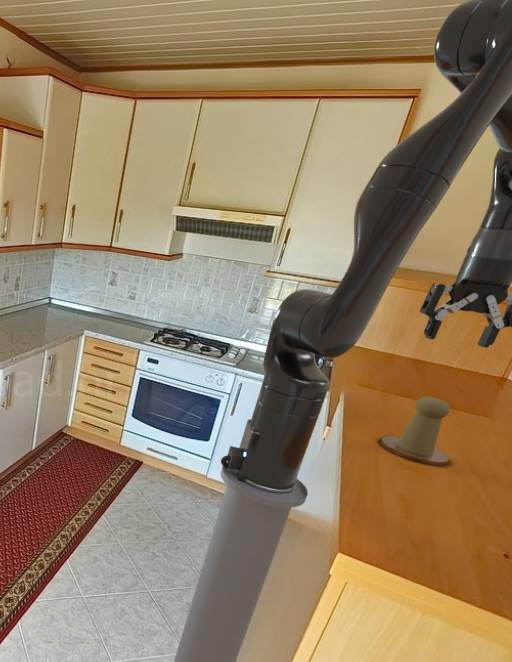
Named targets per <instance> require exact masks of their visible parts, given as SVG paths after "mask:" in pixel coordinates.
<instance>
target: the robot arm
mask: <svg viewBox="0 0 512 662" xmlns="http://www.w3.org/2000/svg"><path fill="white" fill-rule="evenodd" d="M433 59H434V63H435V66H436V68H437V70H438V72H439V74H441V75H442V77H443V78H444V79H445V80H446V81H448V83H450V84H451V85H452V86H453V87H454V89H456V90H457V91H458V92H459V95H458V96H457V97H456V98H455V99H454V100H453V101H452V102H451V103H450V104H449V105H448V106H447V107H444V109H443V110H441V111H440V112H439V113H438V114H436V115H434V117H433V118H431V119H429V120H428V121H427V122H426V123H424V124H423V125H421V126H420V127H419V128H417V129H416V130H415V131H413V132H412V133H410V134H409V135H408V136H407V137H405V138H404V139H403V140H402V141H400V142H399V143H398V144H397V145H395V146H394V147H393V148H392V149H391V150H390V151H389V152H387V153H386V154H385V156H384V157H383V158H382V159H381V161H380V162H379V163H378V165H377V166H376V168H375V171H374V172H373V174H372V175H371V177H370V179H368V182H367V183H366V185H365V187H364V188H363V190H362V192H361V194H360V195H359V198H358V200H357V202H356V205H355V209H354V214H353V215H354V216H353V252H352V257H351V260H350V263H349V265H348V268H347V270H346V271H345V273H344V275H343V277H342V278H341V281H340V282H339V284H338V285H337V287H336V288H335V290H334V291H333V292H332V293H329V292H325V291H321V290H320V291H319V290H316V289H309V288H304V289H303V288H302V289H298V290H295V291H293V292H292V293H290V294H289V295H287V297H285V298H284V300H283V301H282V302H281V303H280V305H279V306H278V308H277V310H276V312H275V315H274V317H273V320H272V322H271V323H272V324H271V328H270V332H269V335H268V340H267V345H266V348H265V352H264V357H263V366H262V367H263V372H264V375H263V379H262V383H261V387H260V390H259V393H258V396H257V400H256V402H255V406H254V409H253V412H252V416H251V419H248V420H247V421H246V424H245V427H244V431H243V434H242V437H241V441H240V444H239V447H236V446H231V445H230V446H229V449H228V452H227V454H226V455H224V456H223V457H221V459H220V464H221V465H222V466H224V468H225V469H227V468H229V469H233V470H235V473H236V475H237V479H238V481H241V482H245V483H247V484H249V485H251V486H253V487H255V488H257V489H260V490H263V491H267V492H271V493H278V494H285V493H290V492H291V491H293V489H294V486H295V482H296V479H298V475H299V473H300V470H301V467H302V464H303V462H304V459H305V455H306V453H307V450H308V447H309V444H310V441H311V440H312V436H313V433H314V431H315V427H316V425H317V422H318V419H319V416H320V413H321V411H322V408H323V405H324V402H325V399H326V396H327V395H328V394H327V393H328V391H329V388H330V380H329V379H328V377H327V376H326V375H325V373H324V372H323V371H322V369H320V367H319V366H318V364H317V361H316V358H315V356H318V357H320V358H325V359H335V358H339V357H341V356H343V355H345V354H346V353H348V352H349V351H350V350H351V349H353V347H354V346H355V345H356V344H357V343H358V342H359V340H360V339H361V337H362V336H363V334H364V332H365V331H366V329H367V327H368V326H369V324H370V322H371V320H372V318H373V316H374V314H375V312H376V310H377V308H378V306H379V304H380V303H381V300H382V298H383V296H384V294H385V292H386V291H387V288H388V287H389V285H390V283H391V282H392V279H393V277H394V275H395V274H396V271H397V270H398V269H399V267H400V265H401V263H403V260H404V259H405V257H406V255H407V253H408V252H409V250H410V249H411V247H412V246H413V244H414V242H415V241H416V239H417V237H418V236H419V234H420V232H421V231H422V230H423V228H424V227H425V225H426V224H427V222H428V221H429V219H430V218H431V216H432V215H433V214H434V212H435V211H436V210H437V208H438V207H439V204H440V203H441V201H442V200H443V198H444V197H445V196H446V194H447V192H448V190H449V189H450V187H451V186H452V184H453V182H454V181H455V180H456V177H457V176H458V174H459V172H460V171H461V169H462V168H463V166H464V164H465V162H466V161H467V159H468V158H469V156H470V154H471V153H472V151H473V150H474V148H475V147H476V146H477V144H478V143H479V141H480V139H481V138H482V136H483V135H484V134H485V132H486V130H487V129H488V128H489V129H490V131H491V134H492V136H493V138H494V140H495V142H496V143H497V146H498V147H499V149H498V150H497V152H496V153H495V155H494V159H493V165H492V179H491V180H492V181H491V189H490V195H489V196H490V197H489V201H488V206H487V209H486V211H485V213H484V216H483V218H482V220H481V223H480V225H479V227H478V229H477V231H476V233H475V234H474V236H473V238H472V240H471V242H470V245H469V246H468V248H467V250H466V254H465V256H464V259H463V261H462V263H461V266H460V268H459V270H458V272H457V275H456V278H455V281H454V283H453V284H452V285H447V284H444V283H441V282H440V283H439V282H433V283H432V284H431V286H430V288H429V289H428V292H427V294H426V296H425V298H424V300H423V303H422V305H421V306H420V309H419V312H420V313H421V314H423V315H425V316H427V317H428V319H427V322H426V325H425V327H424V330H423V335H425V338H426V339H428V340H435V339H436V337H437V335H438V333H439V330H440V328H441V325H442V323H443V321H442V320H443V319H444V318H446V317H448V316H449V315H451V314H454V313H456V312H457V311H458V310H459V311H461V312H473V313H477V314H482V316H484V317H485V320H486V322H487V324H488V326H486V325H485V326H484V329H483V331H482V333H481V335H480V338H479V339H478V342H477V345H478V346H479V347H481V348H489V347H490V346H492V345H493V344H494V343H495V341H496V339H497V337H498V335H499V333H500V331H501V330H502V329H504V328H510V327H511V328H512V292H511V293H510V292H509V287H510V286H511V285H512V0H466V1H464V2H461V3H460V4H458V5H457V6H456V7H455V8H454V9H453V10H451V12H449V14H448V15H447V16H446V17H445V19H444V21H443V22H442V24H441V26H440V28H439V30H438V32H437V34H436V38H435V42H434V47H433ZM447 293H448V294H449V297H450V298H449V299H448V300H445V301H444V302H443V303H441V304H440V305H439V307H437V306H438V304H439V302H440V300H441V298H442V297H444V296H445V295H446V294H447ZM504 301H505V303H506V304H507V305H506V308H505V311H504V314H503V316H502V312H501V310H500V308H499V306H498V305H500V304H501V303H503V302H504ZM227 462H228V463H227Z"/></svg>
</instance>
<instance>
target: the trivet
mask: <svg viewBox="0 0 512 662" xmlns="http://www.w3.org/2000/svg"><path fill="white" fill-rule="evenodd" d="M399 438H400V436H393V435H389V436H388V435H387V436H383V437H382V438H381V440H380V444H381V446H382V447H383V448H384V449H386V450H387V451H389V452H391V453H393V454H395V455H397V456H400V457H402V458H404V459H408V460H410V461H414V462H417V463H420V464H424V465H425V464H426V465H431V466H445V465H448V463H449V460H450V457H449V455H447V454H446V453H445V452H443V451H441V450H440V449H438V448H436V447H435V449H434V453H433V455H431V456H426V455H420V454H416V453H412V452H410V451H407V450H405V449H403V448H401V447H399V446H398V445H397V444H396V443H397V441H398V439H399Z"/></svg>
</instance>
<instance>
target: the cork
mask: <svg viewBox="0 0 512 662" xmlns="http://www.w3.org/2000/svg"><path fill="white" fill-rule="evenodd" d="M415 410H416V411H415V413H414V415H413V416H412V417H411V419H410V421H408V424H407V425H406V427H405V428H404V430H403V431H402V433H401V435H400V436H399V437H400V438H399V439H398V441H397V443H396V444H397V445H398V446H399V447H401V448H403V449H405V450H407V451H410V452H412V453H416V454H420V455H426V456H431V455H433V453H434V449H435V448H436V445H437V440H438V437H439V434H440V429H441V425H442V422H443V418H446V417H447V416H448V415H449V414H450V411H451V406H450V404H449V402H447V401H445V400H442V399H440V398H437V397H431V396H422V397H420V398H419V399H417V401H416V402H415Z"/></svg>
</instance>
